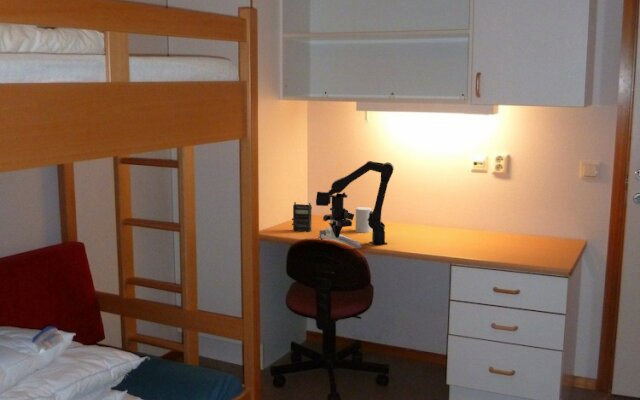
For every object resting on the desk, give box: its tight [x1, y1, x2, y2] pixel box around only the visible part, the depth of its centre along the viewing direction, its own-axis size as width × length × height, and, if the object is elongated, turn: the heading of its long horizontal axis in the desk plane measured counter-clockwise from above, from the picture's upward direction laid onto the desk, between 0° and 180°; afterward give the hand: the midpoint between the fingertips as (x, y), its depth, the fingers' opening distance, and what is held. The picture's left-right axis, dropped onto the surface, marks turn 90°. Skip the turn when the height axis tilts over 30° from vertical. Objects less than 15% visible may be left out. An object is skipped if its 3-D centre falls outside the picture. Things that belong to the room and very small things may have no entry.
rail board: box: [317, 229, 363, 249], centre depth 347 cm, size 26×10×4 cm, turn 27°
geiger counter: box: [291, 201, 313, 233], centre depth 373 cm, size 10×4×15 cm, turn 77°
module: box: [325, 226, 340, 239], centre depth 353 cm, size 5×5×5 cm
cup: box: [355, 206, 372, 234], centre depth 374 cm, size 8×8×12 cm
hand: (337, 237), depth 349 cm, fingers closed
